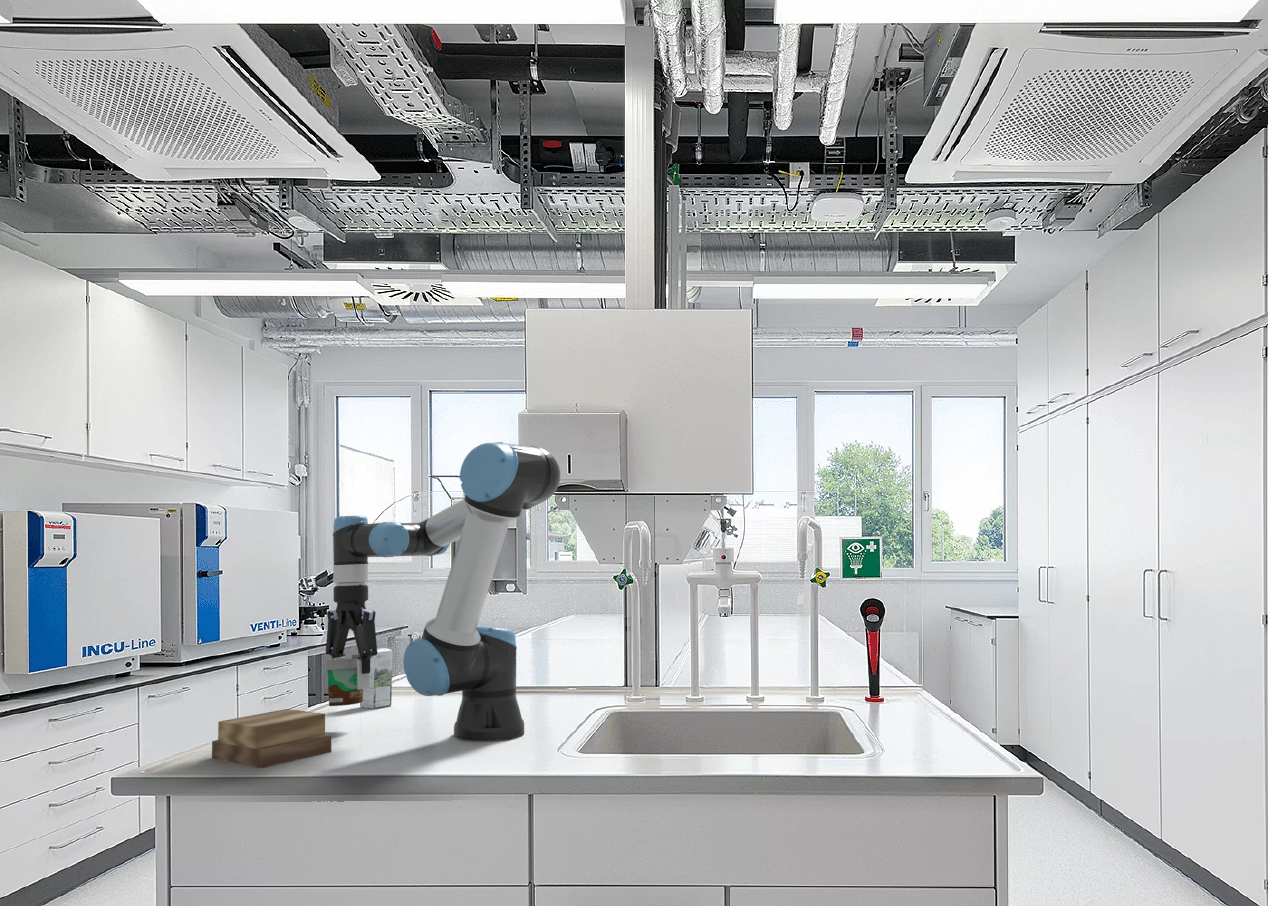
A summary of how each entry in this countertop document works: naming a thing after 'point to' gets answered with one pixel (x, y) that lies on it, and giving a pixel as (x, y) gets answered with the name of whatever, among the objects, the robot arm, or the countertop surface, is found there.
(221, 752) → the tower base
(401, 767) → the countertop surface
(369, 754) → the countertop surface
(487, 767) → the countertop surface
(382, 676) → the syrup box
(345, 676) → the food container
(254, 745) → the tower top
